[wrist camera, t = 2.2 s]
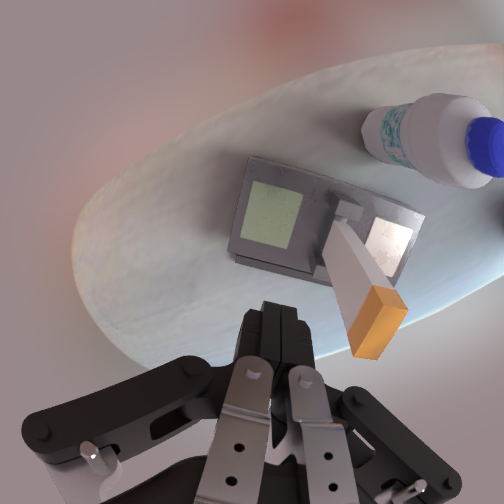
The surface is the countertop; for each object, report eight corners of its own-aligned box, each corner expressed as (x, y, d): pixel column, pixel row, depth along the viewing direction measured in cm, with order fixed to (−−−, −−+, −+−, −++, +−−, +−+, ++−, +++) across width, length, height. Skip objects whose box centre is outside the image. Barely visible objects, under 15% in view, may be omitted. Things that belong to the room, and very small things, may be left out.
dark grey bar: (373, 279, 34) (375, 282, 33) (367, 292, 34) (368, 295, 34) (239, 244, 33) (238, 247, 33) (235, 259, 34) (234, 262, 33)
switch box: (410, 206, 29) (438, 225, 23) (381, 276, 33) (400, 307, 27) (252, 155, 29) (244, 161, 22) (232, 237, 33) (221, 264, 26)
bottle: (377, 174, 28) (492, 235, 10) (343, 126, 27) (446, 118, 8) (416, 144, 26) (546, 174, 8) (385, 96, 24) (508, 69, 6)
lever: (347, 217, 26) (411, 304, 12) (333, 256, 28) (373, 364, 14) (332, 212, 26) (386, 298, 12) (318, 252, 28) (350, 361, 14)
